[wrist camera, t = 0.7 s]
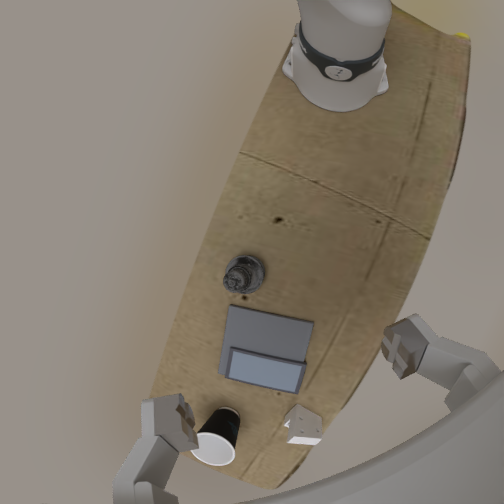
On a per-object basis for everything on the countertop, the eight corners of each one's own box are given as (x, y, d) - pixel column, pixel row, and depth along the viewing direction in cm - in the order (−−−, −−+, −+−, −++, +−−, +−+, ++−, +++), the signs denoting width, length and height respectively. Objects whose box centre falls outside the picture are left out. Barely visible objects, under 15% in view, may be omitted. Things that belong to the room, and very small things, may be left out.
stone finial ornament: (243, 296, 49) (224, 315, 37) (224, 266, 49) (199, 276, 37) (273, 277, 48) (263, 292, 36) (253, 246, 48) (236, 251, 36)
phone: (231, 346, 49) (229, 348, 48) (306, 362, 46) (306, 365, 46) (226, 375, 49) (224, 377, 48) (298, 391, 47) (297, 394, 46)
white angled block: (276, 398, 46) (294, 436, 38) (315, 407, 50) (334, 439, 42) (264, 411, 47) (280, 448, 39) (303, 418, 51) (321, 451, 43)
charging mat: (230, 304, 49) (229, 305, 48) (313, 321, 47) (313, 323, 46) (219, 370, 50) (217, 373, 49) (295, 388, 48) (295, 391, 47)
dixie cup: (201, 417, 52) (181, 449, 41) (219, 393, 51) (200, 425, 40) (235, 437, 51) (221, 472, 40) (255, 414, 50) (243, 449, 39)
